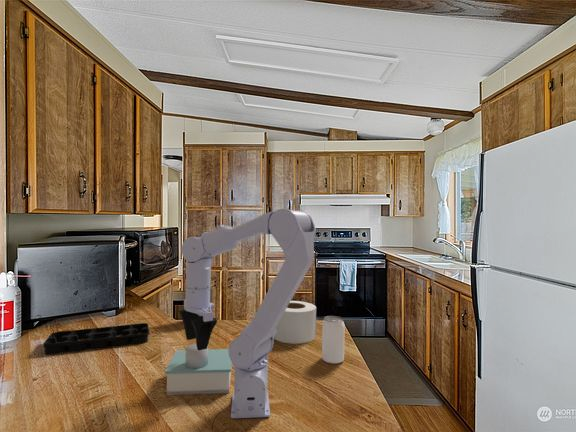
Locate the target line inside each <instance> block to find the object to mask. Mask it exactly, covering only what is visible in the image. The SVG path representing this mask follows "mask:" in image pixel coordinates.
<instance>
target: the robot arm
mask: <svg viewBox="0 0 576 432" xmlns="http://www.w3.org/2000/svg"><path fill="white" fill-rule="evenodd" d="M316 232H317V228H316V225H315V223H314V220H313V218H312V216H311V215H310V214H309V213H308V212H307V211H305V210H292V209H289V208H279V209H276V210H275V211H269V212H266V213H264V214H261V215H260V216H257V217H255V218H253V219H251V220H248V221H247V222H244V223H242V224H240V225H238V226H235V227H231V226H229V225H225V224H219V225H217V226H216V229H213V230H212V231H210V232H209V231H208V232H207V231H204V232H201V234H200V236H189V237H187V238H186V239H185V240H184V241H183V243H182V245H181V254H182V256H183V258H184V260H185V261H186V265H185V267H186V269H185V271H186V273H185V299H183V309H182V310H178V314H179V316H180V317H181V319H182V323H183V328H184V332H185V337H186V340H187V341H190V340H195V343H196V345H197V349H198V350H204V349H207V347H208V348H209V343H210V339H211V335H212V333H213V331H214V328H215V326H216V325H217V323H218V318H216V317H214V312H213V310H212V311H211V307H212V308H214V307H215V303H213V302H212V303H210V286H211V282H212V281H211V279H212V278H211V277H212V276H211V275H212V273H211V272H212V266H213V260H214V258H215V257H216V256H219V255H222V254H224V253H227V252H230V251H232V250H235V249H236V248H237V246H238V244H239V242H241V241H244V240H247V239H251V238H253V237H257V236H260V235H262V234H265V235H272V237H273V238H274V240H275V241H276V242H277V244H278V246H279V247H280V248H281V250H282V252H283V254H284V255H283V256H284V257H285V259H284V261H283V264H282V265H281V267H280V269H279V270H278V273H277V274H276V276H275V277H274V279H273V281H272V283H271V285H270V288H269V289H268V291H267V292H266V295H265V296H264V298H263V300H262V302H261V304H260V305H259V307H258V309H257V310H256V313H255V315H254V316H253V318H252V320H251V321H250V322H249V323H247V325H246V326H245V327H244V328H243V329H242V330H241V332H240V334H239V335H238V336H237V337H236V338H234V339H233V340H231V342H229V345H228V348H227V349H228V353H229V357H230V360H231V362H232V365H233V368H234V380H233V381H234V386H233V387H234V388H233V389H234V390H233V393H232V397H231V398H232V399H231V409H230V418H231V419H249V418H250V419H251V418H253V419H254V418H268V417H271V410H270V401H269V399H270V398H269V392H268V374H269V373H268V372H269V371H268V366H269V365H268V364H269V353H270V352H272V350H273V347H274V341H275V339H274V336H275V334H276V333H277V331H276V329H275V328H276V326H277V324H278V322H279V321H280V319H281V317H282V315H283V313H284V312H285V310H286V308H287V306H288V305H289V303H290V301H292V299H293V297H294V295H295V294H296V292H297V291H298V289H299V288H300V285H301V284H302V282H303V280H304V278H305V276H306V275H307V273H308V271H309V269H310V267H311V266H312V264H313V262H314V256H315V253H314V251H315V246H314V245H315V235H316Z"/></svg>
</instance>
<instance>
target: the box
mask: <svg viewBox="0 0 576 432" xmlns="http://www.w3.org/2000/svg"><path fill="white" fill-rule="evenodd" d="M232 370H233V367H232V368H231V372H215V373H181V374H166V396H177V395H178V396H181V395H182V396H185V395H187V396H188V395H209V394H210V395H211V394H212V395H213V394H230V387H231V386H230V385H231V379H232Z"/></svg>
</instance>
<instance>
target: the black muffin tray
mask: <svg viewBox="0 0 576 432" xmlns="http://www.w3.org/2000/svg"><path fill="white" fill-rule="evenodd" d="M149 335H150V327H149V323H147V322H143V323H132V324H131V323H130V324H122V325H112V326H103V327H91V328H81V329H74V330H73V329H72V330H62V331H55V332H52V333H50V335H49V336H48V337H47V338H46V339H45V341H44V342H43V346H42V348H44V355H47V356H50V355H58V354H62V353H65V352H66V350H67V352H69V353H75V352H81V351H85V350H87V349H91V350H101V349H105V348H108V347H109V343H110V344H111V345H110V346H111V347H112V348H118V347H125V346H128V345H129V344H131V345H143V344H147V343H148V339H149Z"/></svg>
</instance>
